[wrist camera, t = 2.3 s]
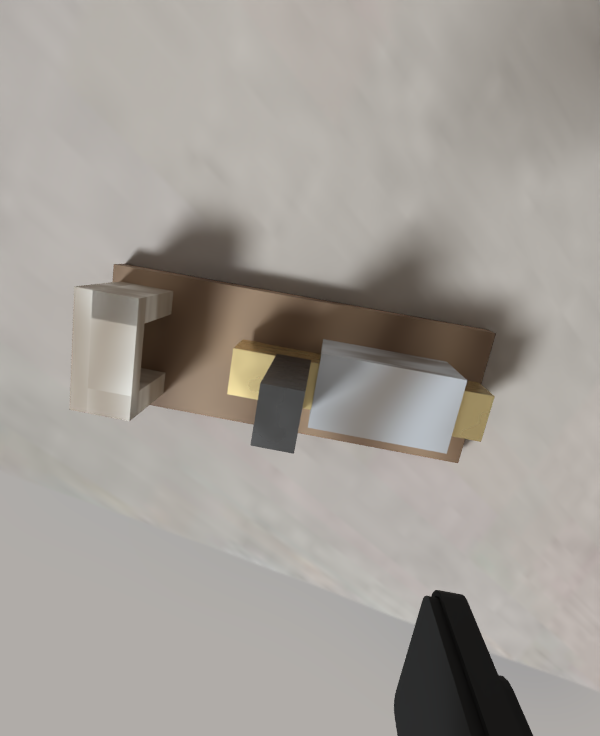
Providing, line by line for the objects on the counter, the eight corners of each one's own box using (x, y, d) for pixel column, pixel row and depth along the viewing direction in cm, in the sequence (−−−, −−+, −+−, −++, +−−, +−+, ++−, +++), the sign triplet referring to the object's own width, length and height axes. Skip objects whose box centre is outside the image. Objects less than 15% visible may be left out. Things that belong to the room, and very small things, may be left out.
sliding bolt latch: (487, 329, 29) (532, 350, 22) (452, 453, 31) (484, 505, 25) (124, 264, 29) (66, 266, 23) (115, 390, 32) (60, 424, 25)
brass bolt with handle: (478, 381, 27) (544, 436, 19) (465, 425, 28) (523, 497, 20) (243, 337, 28) (204, 372, 19) (236, 382, 28) (196, 435, 20)
